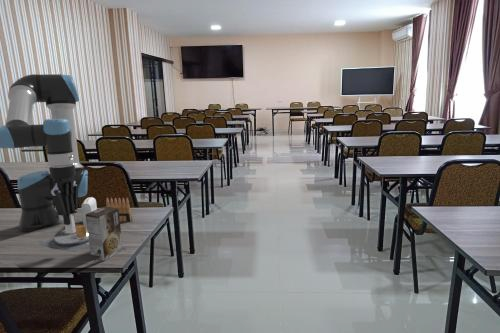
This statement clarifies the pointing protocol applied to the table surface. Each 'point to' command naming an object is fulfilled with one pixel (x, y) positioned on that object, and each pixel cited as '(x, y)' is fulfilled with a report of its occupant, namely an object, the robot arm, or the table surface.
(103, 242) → the coffee box
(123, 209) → the ammunition clip
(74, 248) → the panel
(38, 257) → the table surface
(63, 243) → the dial
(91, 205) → the photo printer
